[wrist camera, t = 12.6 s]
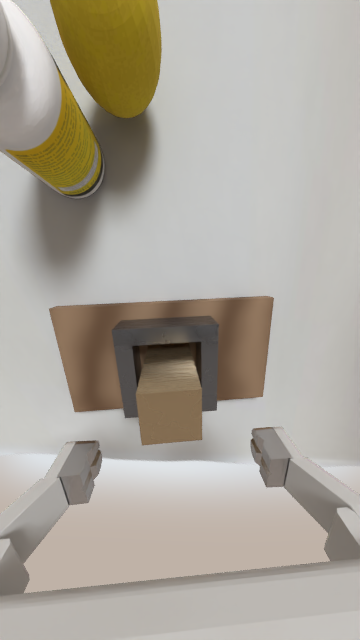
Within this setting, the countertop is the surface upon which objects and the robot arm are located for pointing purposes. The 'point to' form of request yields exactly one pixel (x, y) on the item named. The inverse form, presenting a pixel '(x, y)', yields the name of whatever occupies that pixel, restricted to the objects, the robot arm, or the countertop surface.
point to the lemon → (113, 50)
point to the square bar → (169, 395)
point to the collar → (166, 332)
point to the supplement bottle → (43, 112)
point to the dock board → (99, 355)
